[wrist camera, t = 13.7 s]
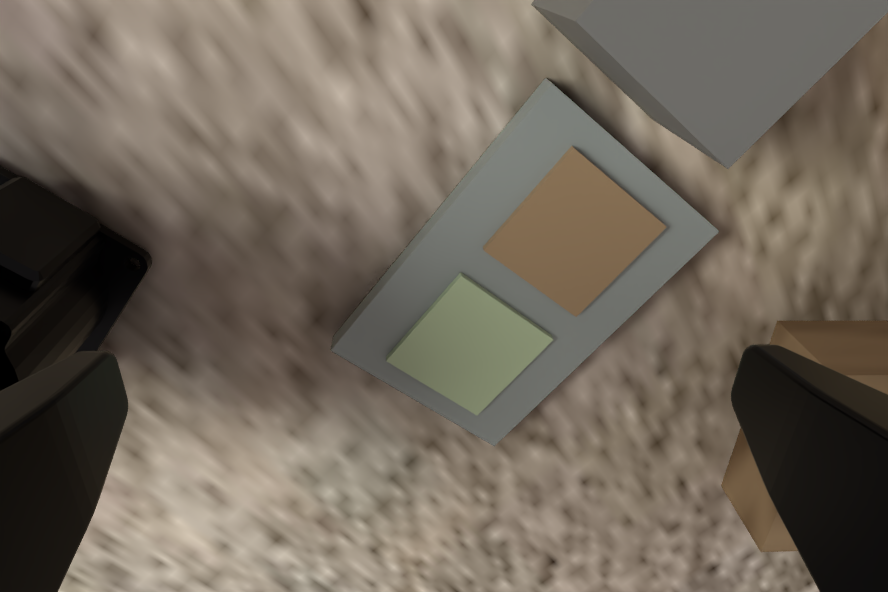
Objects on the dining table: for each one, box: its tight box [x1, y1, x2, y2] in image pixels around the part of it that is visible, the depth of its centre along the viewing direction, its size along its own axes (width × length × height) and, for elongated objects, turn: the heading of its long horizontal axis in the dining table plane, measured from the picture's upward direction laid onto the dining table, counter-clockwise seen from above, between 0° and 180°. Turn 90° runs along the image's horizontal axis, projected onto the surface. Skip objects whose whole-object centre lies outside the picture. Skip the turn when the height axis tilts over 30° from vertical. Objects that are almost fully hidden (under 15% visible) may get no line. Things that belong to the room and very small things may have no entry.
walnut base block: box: [721, 321, 888, 552], centre depth 26 cm, size 9×9×4 cm
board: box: [331, 78, 719, 446], centre depth 22 cm, size 12×8×1 cm, turn 141°
